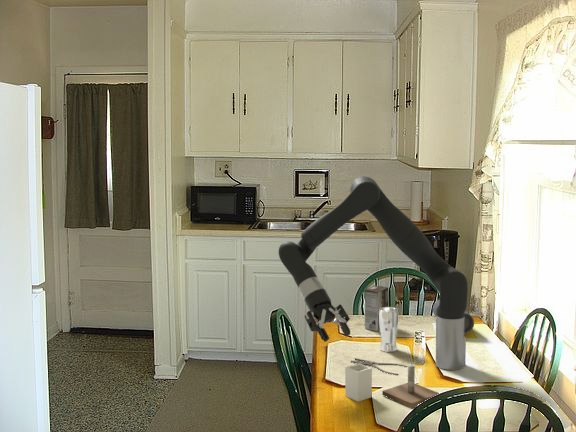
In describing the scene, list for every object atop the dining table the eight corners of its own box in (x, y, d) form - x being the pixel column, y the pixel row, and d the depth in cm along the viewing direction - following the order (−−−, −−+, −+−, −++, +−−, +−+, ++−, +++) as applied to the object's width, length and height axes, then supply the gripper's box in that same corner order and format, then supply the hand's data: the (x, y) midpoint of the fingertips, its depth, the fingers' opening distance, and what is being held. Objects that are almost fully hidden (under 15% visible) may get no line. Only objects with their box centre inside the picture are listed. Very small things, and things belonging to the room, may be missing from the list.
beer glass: (401, 349, 252) (402, 308, 250) (390, 353, 247) (391, 312, 245) (386, 345, 257) (386, 305, 255) (374, 349, 252) (374, 309, 250)
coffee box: (375, 323, 285) (375, 284, 283) (389, 325, 281) (389, 286, 279) (364, 328, 278) (364, 289, 276) (378, 331, 274) (378, 291, 272)
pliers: (403, 374, 225) (344, 366, 233) (403, 377, 225) (344, 369, 233) (410, 365, 234) (353, 357, 242) (410, 367, 234) (353, 360, 242)
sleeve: (359, 391, 212) (359, 363, 211) (371, 397, 208) (371, 368, 207) (345, 395, 209) (345, 367, 208) (357, 401, 205) (357, 372, 204)
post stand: (410, 386, 216) (410, 357, 215) (439, 398, 206) (440, 367, 205) (382, 395, 209) (382, 365, 208) (411, 408, 199) (411, 376, 198)
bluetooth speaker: (475, 336, 266) (476, 311, 264) (452, 338, 264) (452, 312, 263) (452, 320, 288) (453, 296, 287) (431, 321, 286) (431, 298, 285)
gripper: (301, 291, 215) (325, 335, 208) (336, 284, 224) (360, 327, 216) (291, 304, 220) (314, 348, 212) (326, 297, 228) (349, 339, 221)
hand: (337, 337), depth 214 cm, fingers open, 8 cm apart
